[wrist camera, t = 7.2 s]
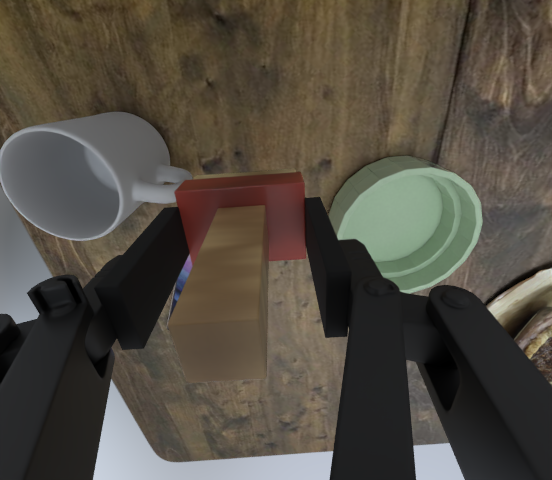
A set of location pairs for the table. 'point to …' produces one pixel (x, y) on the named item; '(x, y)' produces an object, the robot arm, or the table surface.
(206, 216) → the brush
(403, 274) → the bowl
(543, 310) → the pie
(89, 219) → the mug
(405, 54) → the table surface
